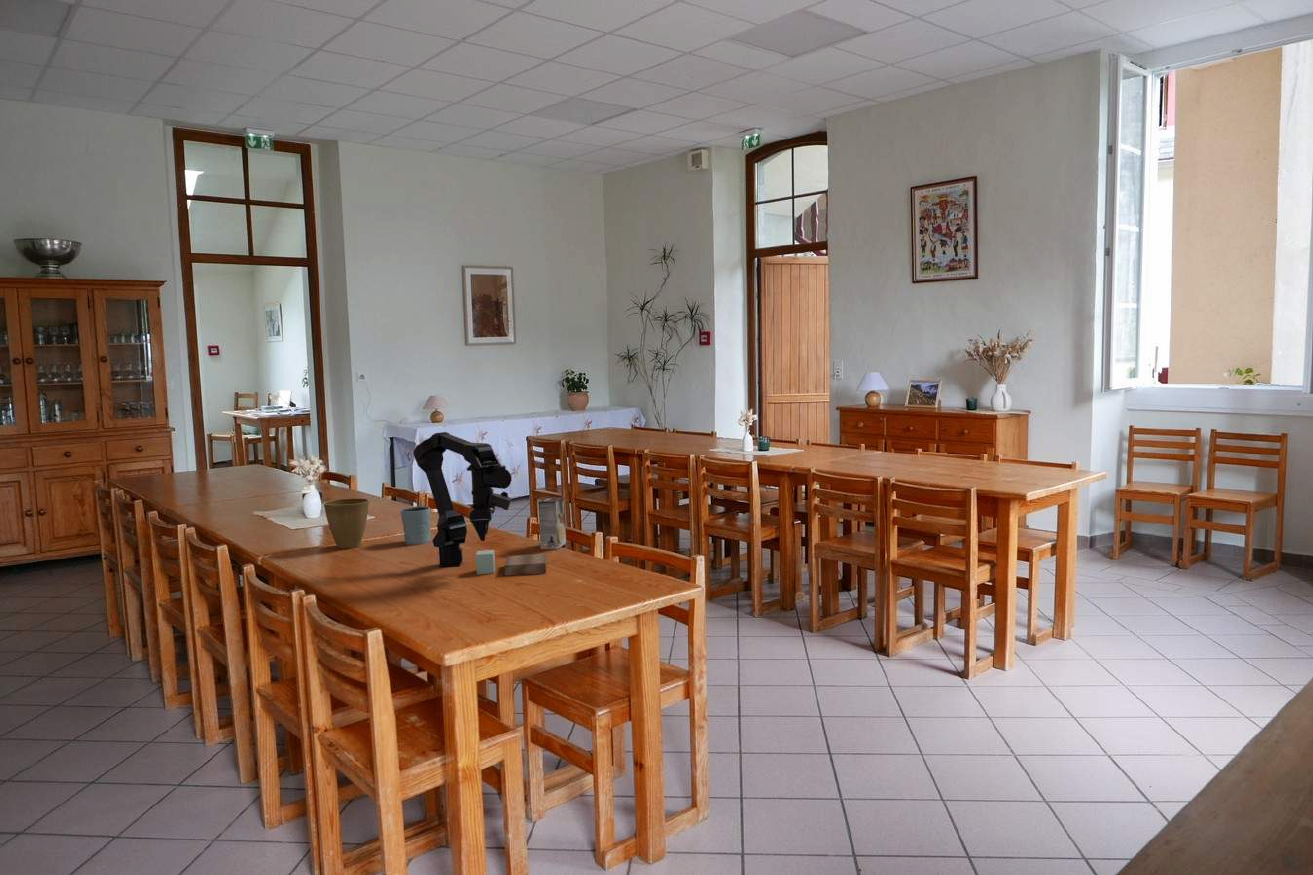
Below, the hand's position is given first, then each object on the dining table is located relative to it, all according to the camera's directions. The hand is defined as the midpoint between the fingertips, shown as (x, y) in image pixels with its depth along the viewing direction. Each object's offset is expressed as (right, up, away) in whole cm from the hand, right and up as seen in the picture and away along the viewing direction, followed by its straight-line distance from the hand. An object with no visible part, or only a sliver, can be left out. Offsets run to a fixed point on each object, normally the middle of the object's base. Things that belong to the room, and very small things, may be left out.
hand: (484, 537), depth 263 cm
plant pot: (-56, -8, +43) cm, 71 cm away
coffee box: (+17, -7, +33) cm, 38 cm away
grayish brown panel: (+12, -10, +2) cm, 16 cm away
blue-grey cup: (-33, -7, +46) cm, 57 cm away
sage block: (0, -10, +1) cm, 11 cm away
